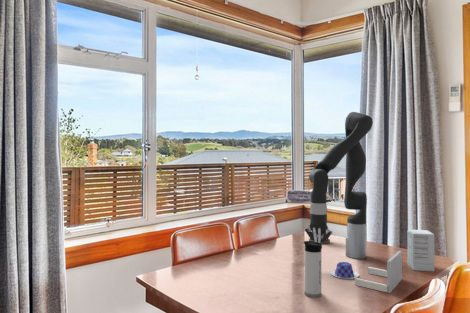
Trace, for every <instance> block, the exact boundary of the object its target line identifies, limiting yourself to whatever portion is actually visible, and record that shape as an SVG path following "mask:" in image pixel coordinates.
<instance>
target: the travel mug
mask: <svg viewBox="0 0 470 313" xmlns="http://www.w3.org/2000/svg"><path fill="white" fill-rule="evenodd" d="M303 244H304V295H305V296H307V297H311V298H319V297H321V296H322V249H321V244H320V243H318V242H313V241H309V240H305V241H303Z"/></svg>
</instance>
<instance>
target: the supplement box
mask: <svg viewBox="0 0 470 313" xmlns="http://www.w3.org/2000/svg"><path fill="white" fill-rule="evenodd" d="M407 265H408V266H409V267H410V269H411V270H412V271H422V272H435V234H434V233H433V232H431V231H430V230H427V229H407Z"/></svg>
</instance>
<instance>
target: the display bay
mask: <svg viewBox="0 0 470 313" xmlns="http://www.w3.org/2000/svg"><path fill="white" fill-rule="evenodd" d="M402 270H403V250H398V251H397V252H395V254H393V255H392V256H391V257H390V258H389V259H388V260H387V262H386V269H382V268H377V267H370V266H368V268H367V273H368V274H370V275H375V276H380V277H386V284H385V283H380V282H377V281H376V282H375V281H373V280H366V279H362V278H359V277H357V278H354V286H359V287H362V288H367V289H371V290H375V291H379V292H383V293H388V294H391V293H392V291H394V289H395V288H396V287H397V286H398V284H399V283H400V282H401V281H402V280H403V271H402Z"/></svg>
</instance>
